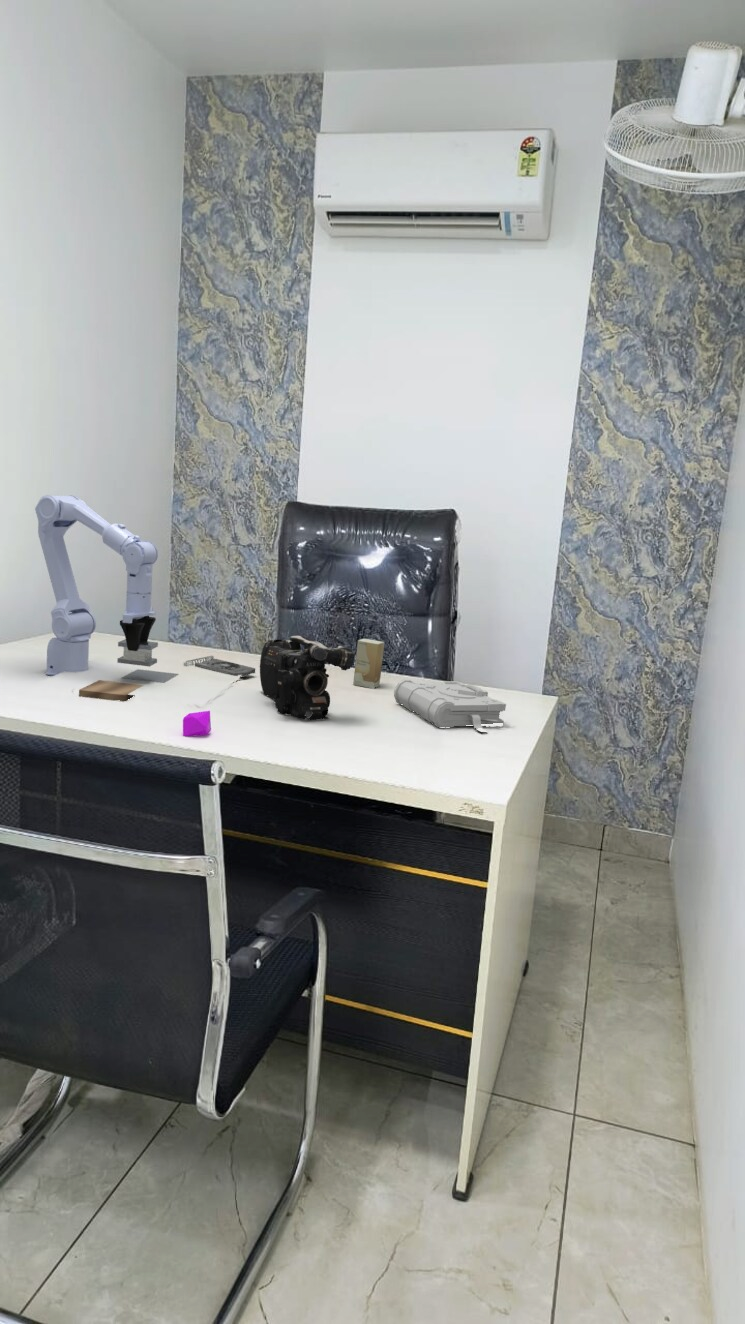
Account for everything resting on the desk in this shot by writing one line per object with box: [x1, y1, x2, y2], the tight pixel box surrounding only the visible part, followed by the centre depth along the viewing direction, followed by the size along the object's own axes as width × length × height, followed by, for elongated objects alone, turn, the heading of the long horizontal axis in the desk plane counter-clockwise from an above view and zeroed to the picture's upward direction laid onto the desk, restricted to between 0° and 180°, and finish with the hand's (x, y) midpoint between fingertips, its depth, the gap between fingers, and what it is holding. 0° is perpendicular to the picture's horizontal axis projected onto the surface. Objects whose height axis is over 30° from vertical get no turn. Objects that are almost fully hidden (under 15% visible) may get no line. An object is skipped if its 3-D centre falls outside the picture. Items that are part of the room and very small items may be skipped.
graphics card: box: [183, 655, 256, 678], centre depth 245 cm, size 17×4×12 cm
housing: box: [116, 638, 159, 668], centre depth 222 cm, size 8×5×5 cm, turn 83°
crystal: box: [182, 710, 212, 737], centre depth 189 cm, size 5×5×5 cm
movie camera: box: [259, 635, 356, 721], centre depth 217 cm, size 31×18×18 cm, turn 28°
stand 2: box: [120, 668, 179, 684], centre depth 230 cm, size 11×11×2 cm
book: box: [393, 679, 507, 729], centre depth 220 cm, size 19×28×8 cm
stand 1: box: [78, 679, 144, 702], centre depth 215 cm, size 11×11×2 cm
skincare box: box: [352, 638, 385, 689], centre depth 245 cm, size 6×4×12 cm
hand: (137, 648), depth 222 cm, fingers closed on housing, 5 cm apart
